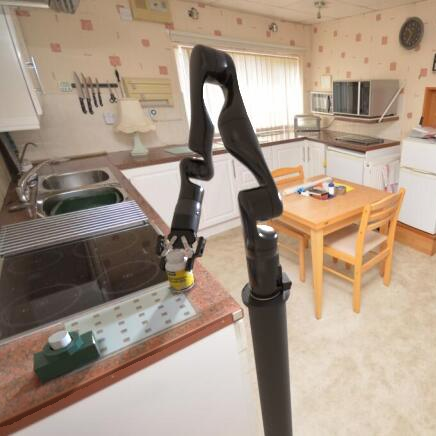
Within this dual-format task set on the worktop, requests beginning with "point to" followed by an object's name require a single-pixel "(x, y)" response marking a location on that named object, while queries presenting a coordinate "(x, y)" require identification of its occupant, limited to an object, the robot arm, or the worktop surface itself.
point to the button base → (65, 356)
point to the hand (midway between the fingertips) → (175, 270)
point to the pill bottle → (178, 271)
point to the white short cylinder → (59, 340)
